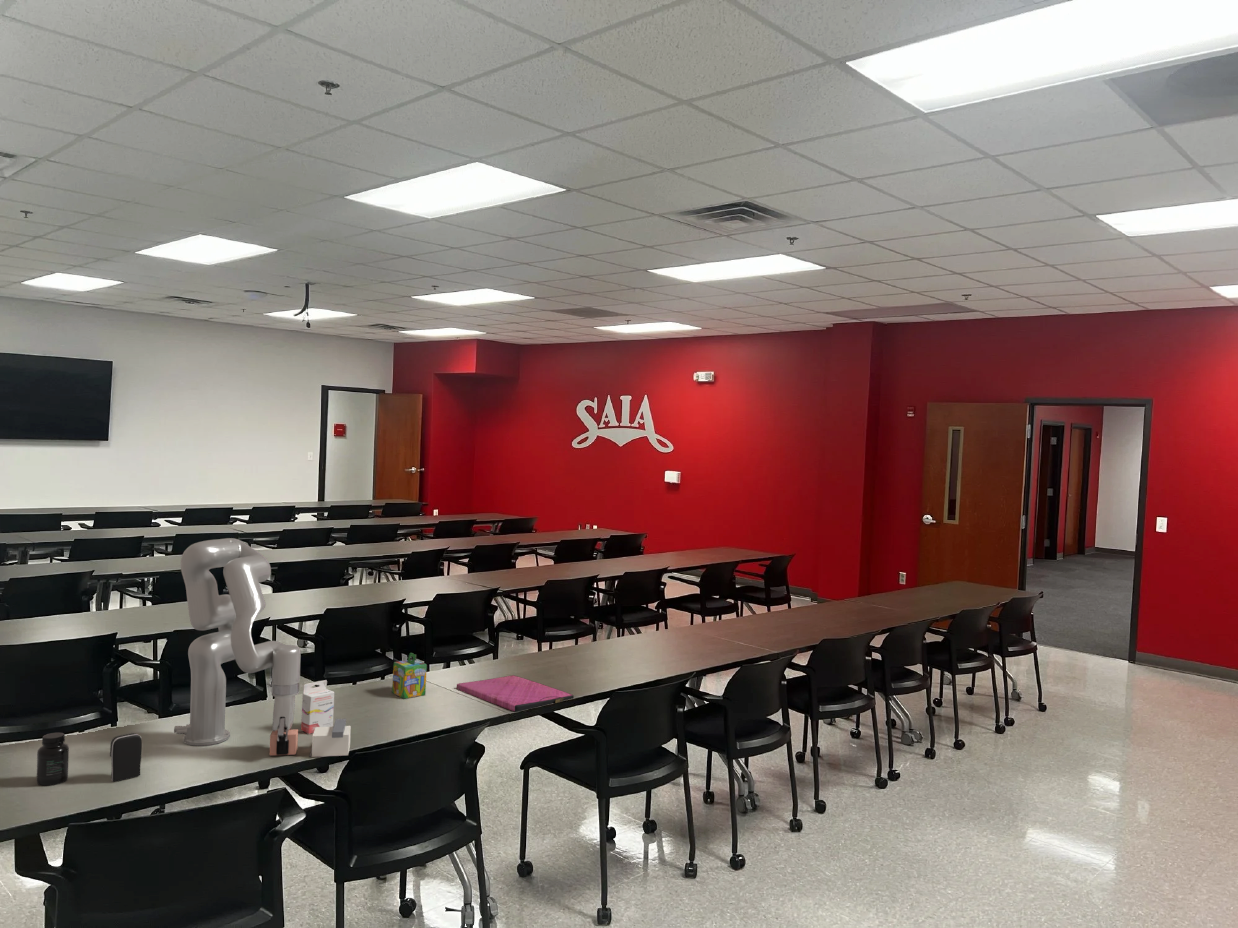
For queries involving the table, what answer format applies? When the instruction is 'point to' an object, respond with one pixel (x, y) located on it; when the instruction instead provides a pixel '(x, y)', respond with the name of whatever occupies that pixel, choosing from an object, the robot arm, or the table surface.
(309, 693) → the ink cartridge box
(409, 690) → the chalk box
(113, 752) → the black rounded block
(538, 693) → the laptop bag
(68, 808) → the table surface
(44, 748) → the supplement bottle
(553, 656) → the table surface
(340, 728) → the block
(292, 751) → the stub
